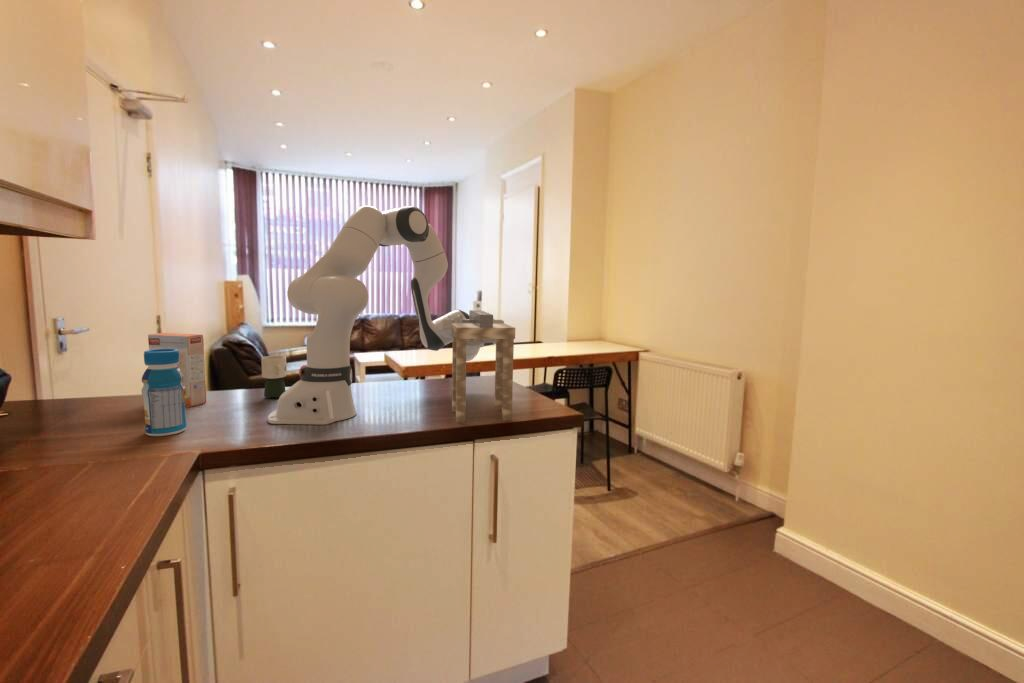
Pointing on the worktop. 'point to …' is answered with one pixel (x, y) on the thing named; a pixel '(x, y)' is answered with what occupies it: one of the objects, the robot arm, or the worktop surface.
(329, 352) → the robot arm
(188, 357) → the cracker box
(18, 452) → the worktop surface
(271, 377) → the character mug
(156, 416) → the beverage bottle
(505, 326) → the stool
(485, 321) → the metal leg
